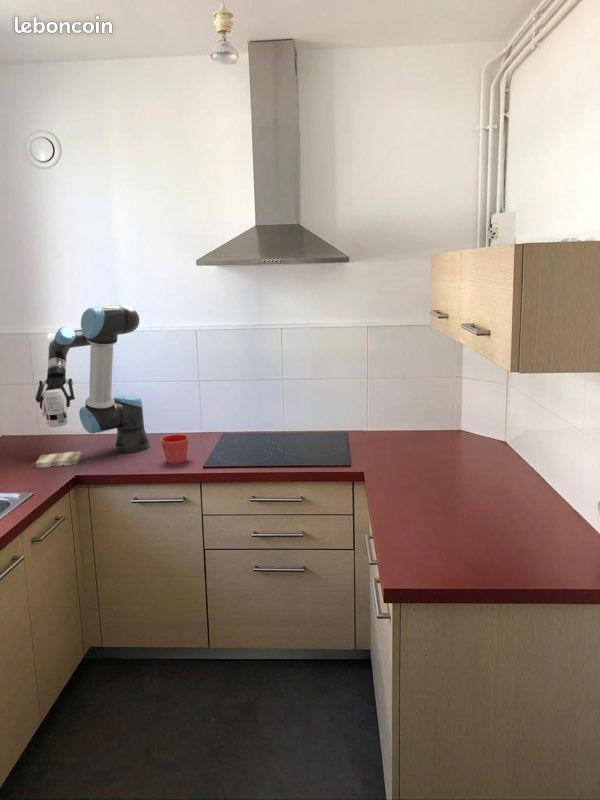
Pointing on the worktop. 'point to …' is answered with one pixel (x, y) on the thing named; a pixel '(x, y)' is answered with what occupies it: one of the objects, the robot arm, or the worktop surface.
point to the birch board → (58, 459)
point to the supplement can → (55, 408)
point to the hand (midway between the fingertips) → (54, 413)
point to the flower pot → (175, 448)
